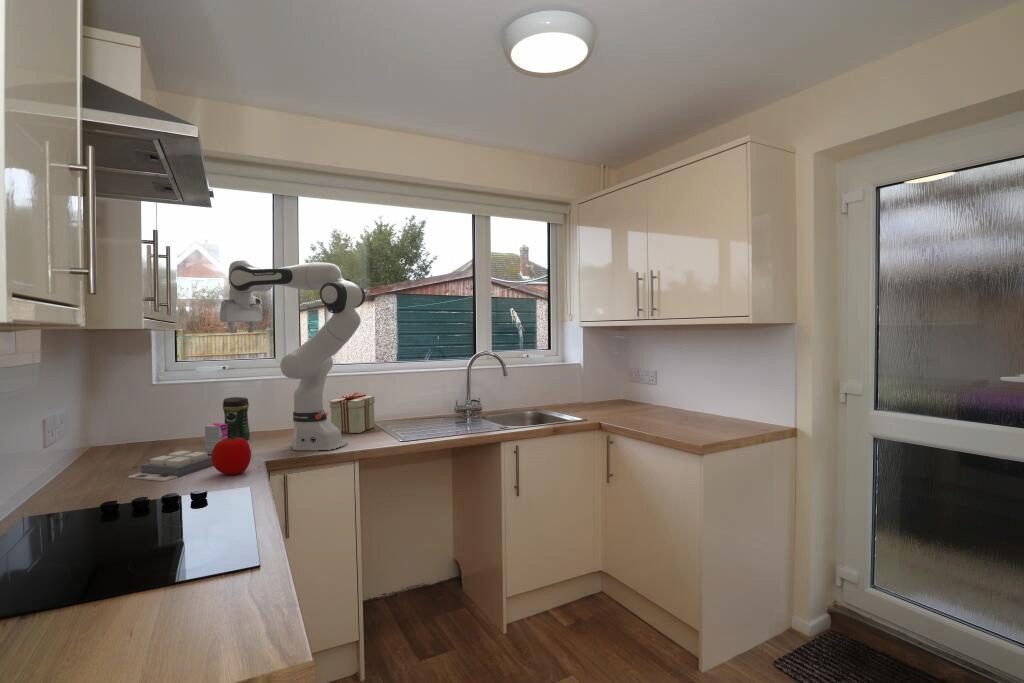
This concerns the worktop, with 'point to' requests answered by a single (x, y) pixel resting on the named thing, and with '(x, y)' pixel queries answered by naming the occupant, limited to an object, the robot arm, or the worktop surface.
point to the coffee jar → (236, 417)
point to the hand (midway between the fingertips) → (242, 333)
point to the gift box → (353, 413)
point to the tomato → (231, 455)
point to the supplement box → (214, 435)
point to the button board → (170, 470)
